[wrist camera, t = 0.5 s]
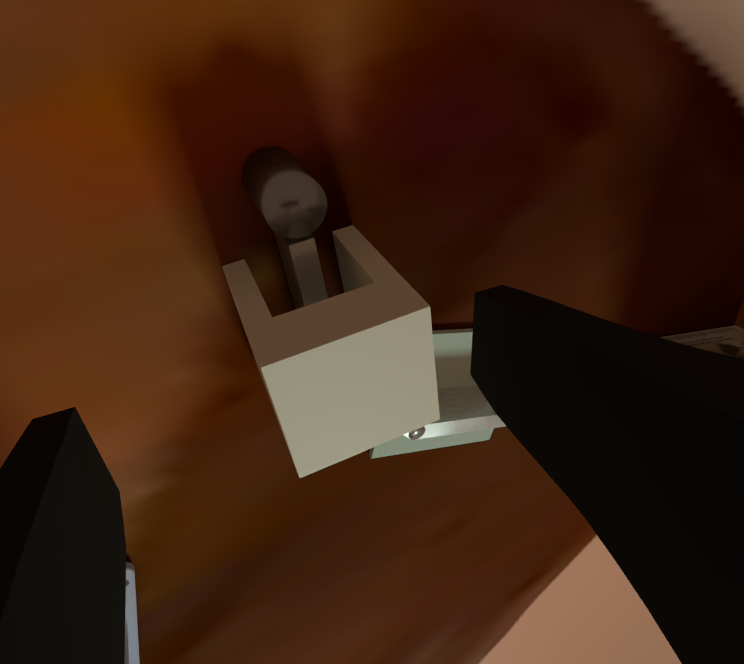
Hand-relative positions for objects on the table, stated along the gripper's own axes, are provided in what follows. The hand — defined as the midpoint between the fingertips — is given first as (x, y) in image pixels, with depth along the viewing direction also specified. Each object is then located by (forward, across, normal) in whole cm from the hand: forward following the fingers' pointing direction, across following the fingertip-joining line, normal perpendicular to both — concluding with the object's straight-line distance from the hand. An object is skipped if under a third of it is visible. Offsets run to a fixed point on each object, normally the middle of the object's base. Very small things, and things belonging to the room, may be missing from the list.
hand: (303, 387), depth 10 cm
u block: (+10, -2, +4) cm, 11 cm away
